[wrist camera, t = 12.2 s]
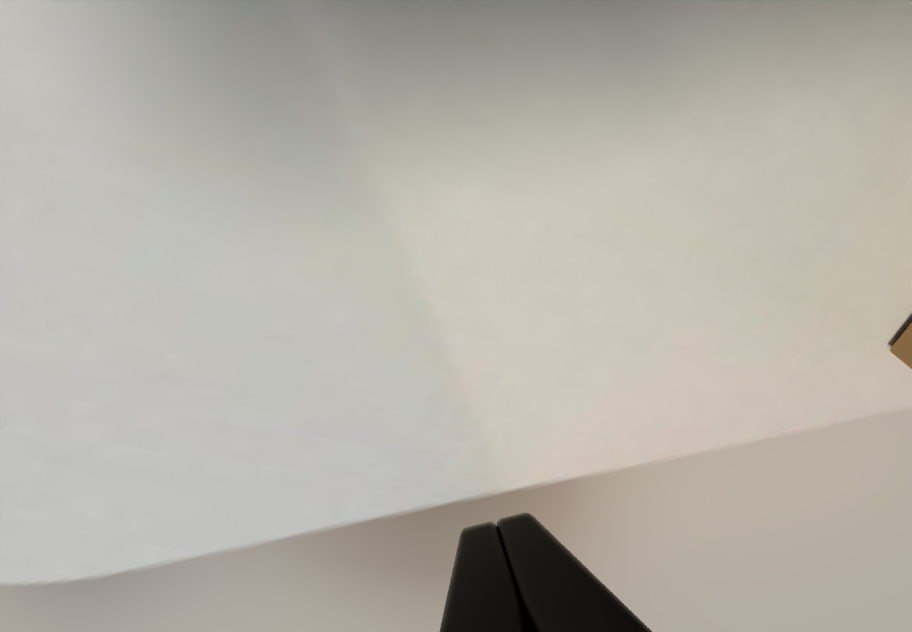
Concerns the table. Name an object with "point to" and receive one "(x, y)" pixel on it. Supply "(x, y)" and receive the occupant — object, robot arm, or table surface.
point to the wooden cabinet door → (904, 347)
